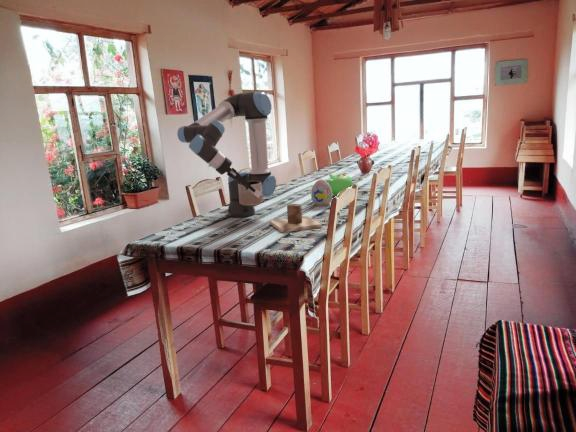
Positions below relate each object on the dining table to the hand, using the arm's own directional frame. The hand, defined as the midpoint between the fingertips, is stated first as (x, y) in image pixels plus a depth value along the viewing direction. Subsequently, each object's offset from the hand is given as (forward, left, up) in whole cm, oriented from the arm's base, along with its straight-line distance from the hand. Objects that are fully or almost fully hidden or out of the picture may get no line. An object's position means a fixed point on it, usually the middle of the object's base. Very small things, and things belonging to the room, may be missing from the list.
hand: (256, 193), depth 212 cm
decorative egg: (+16, +63, -19) cm, 67 cm away
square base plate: (+14, +14, -18) cm, 27 cm away
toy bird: (+22, +89, -19) cm, 93 cm away
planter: (-2, -2, -4) cm, 5 cm away
